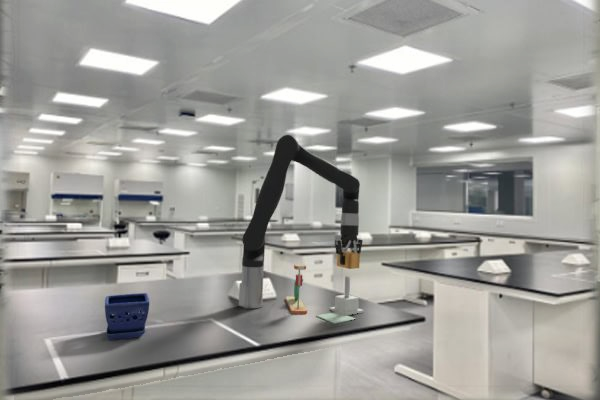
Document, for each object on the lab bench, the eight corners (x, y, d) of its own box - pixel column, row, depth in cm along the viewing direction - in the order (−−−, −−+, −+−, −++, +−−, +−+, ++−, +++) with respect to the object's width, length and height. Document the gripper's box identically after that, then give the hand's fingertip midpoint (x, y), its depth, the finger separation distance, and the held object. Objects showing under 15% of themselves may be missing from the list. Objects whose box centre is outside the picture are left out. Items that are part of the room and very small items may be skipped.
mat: (334, 323, 150) (334, 322, 150) (316, 316, 159) (316, 315, 159) (355, 319, 157) (355, 318, 157) (337, 312, 166) (337, 311, 166)
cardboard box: (349, 268, 164) (350, 254, 164) (336, 265, 170) (337, 251, 170) (359, 268, 167) (359, 253, 167) (346, 265, 173) (346, 251, 174)
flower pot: (102, 343, 122) (103, 304, 123) (104, 330, 135) (105, 294, 135) (148, 338, 128) (150, 301, 128) (146, 326, 140) (147, 292, 140)
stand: (345, 315, 162) (346, 279, 162) (329, 309, 170) (330, 275, 170) (363, 312, 167) (364, 277, 167) (347, 306, 176) (348, 273, 176)
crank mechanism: (307, 314, 162) (309, 266, 162) (291, 314, 161) (293, 266, 161) (299, 299, 187) (300, 258, 187) (285, 299, 186) (286, 257, 186)
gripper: (356, 223, 176) (354, 262, 176) (330, 223, 168) (329, 263, 168) (368, 224, 170) (366, 264, 170) (342, 224, 162) (341, 266, 161)
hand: (347, 264), depth 169 cm, fingers closed on cardboard box, 5 cm apart
